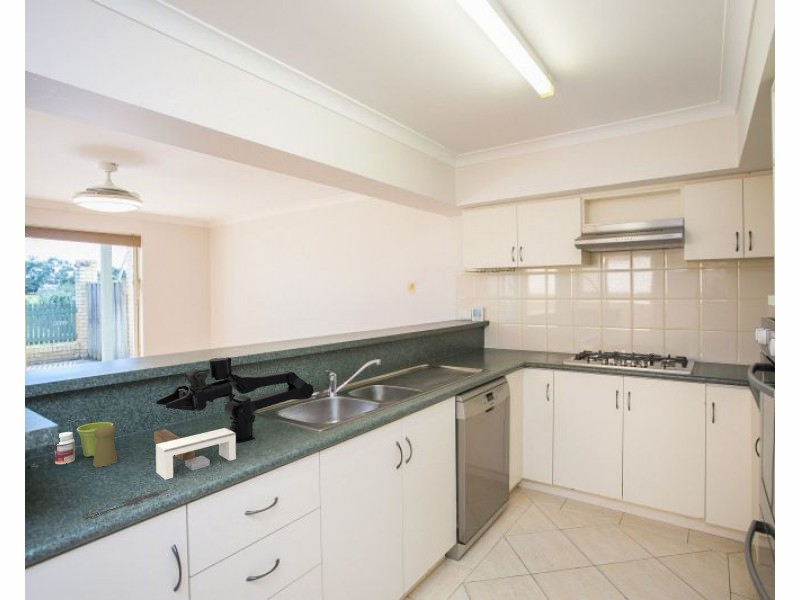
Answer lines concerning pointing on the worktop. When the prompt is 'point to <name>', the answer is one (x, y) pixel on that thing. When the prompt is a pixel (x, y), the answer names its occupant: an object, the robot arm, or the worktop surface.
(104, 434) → the cork
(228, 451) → the white bridge block
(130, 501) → the throwing knife
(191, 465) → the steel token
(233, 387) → the robot arm
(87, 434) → the plant pot
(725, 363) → the worktop surface
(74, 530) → the worktop surface
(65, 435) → the pill bottle
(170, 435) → the walnut bar
